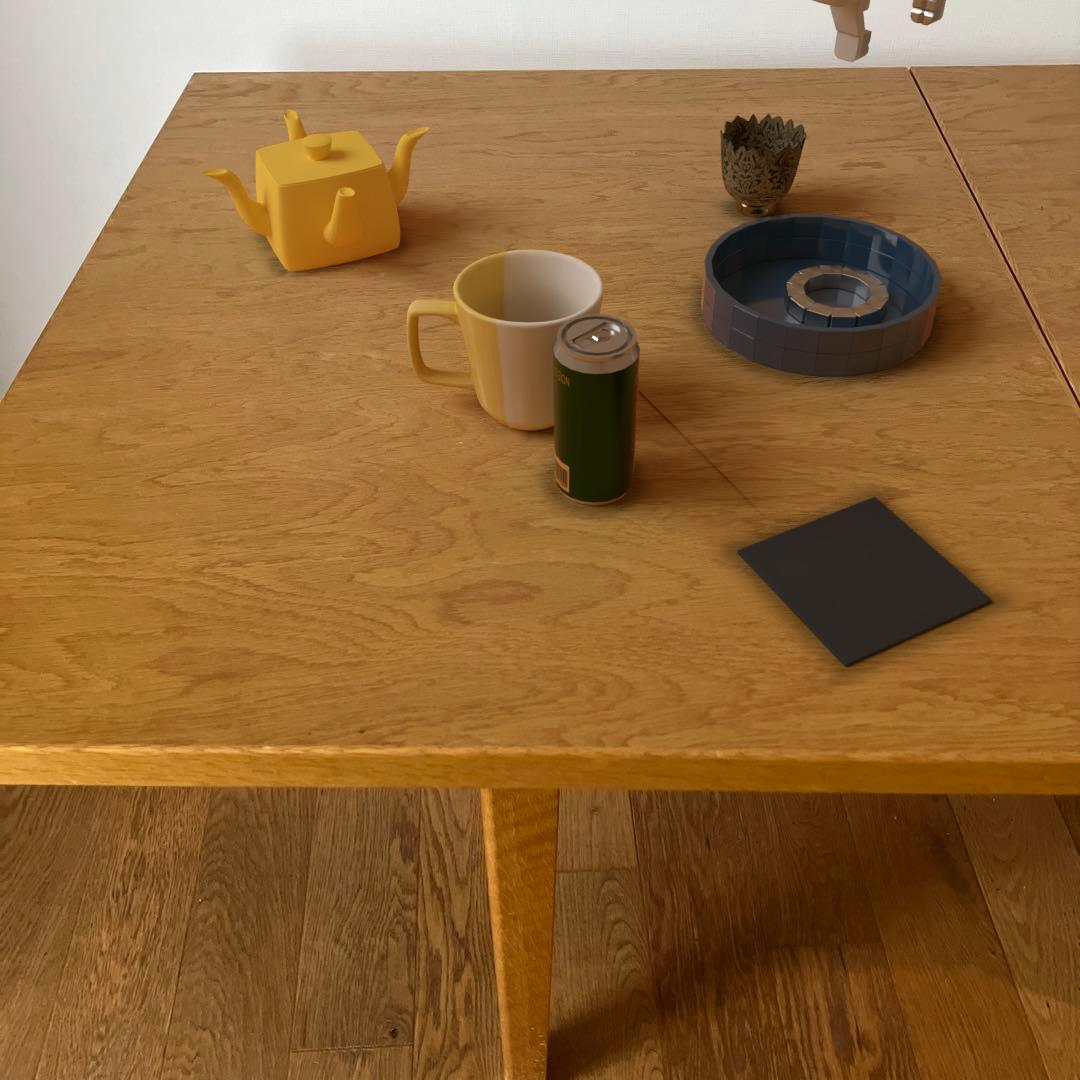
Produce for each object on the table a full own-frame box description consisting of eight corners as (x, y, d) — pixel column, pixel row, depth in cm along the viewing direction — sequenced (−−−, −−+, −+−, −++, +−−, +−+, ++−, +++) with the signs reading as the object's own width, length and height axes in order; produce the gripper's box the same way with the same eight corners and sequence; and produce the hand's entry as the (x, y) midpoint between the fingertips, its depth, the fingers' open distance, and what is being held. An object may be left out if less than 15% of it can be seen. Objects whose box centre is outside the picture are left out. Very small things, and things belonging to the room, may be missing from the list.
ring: (843, 271, 101) (846, 256, 100) (906, 315, 96) (909, 300, 95) (765, 294, 98) (767, 279, 98) (825, 342, 93) (827, 326, 92)
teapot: (219, 267, 104) (196, 161, 98) (297, 196, 114) (281, 96, 108) (370, 295, 101) (357, 187, 94) (437, 219, 110) (429, 116, 104)
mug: (614, 380, 91) (618, 256, 84) (582, 462, 84) (583, 334, 77) (444, 355, 94) (433, 234, 87) (398, 432, 86) (383, 306, 79)
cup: (729, 189, 114) (737, 106, 108) (804, 204, 111) (816, 120, 106) (701, 223, 109) (708, 138, 103) (780, 239, 106) (791, 154, 101)
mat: (873, 503, 80) (874, 496, 79) (990, 607, 73) (992, 600, 72) (736, 556, 76) (737, 549, 76) (844, 671, 69) (846, 664, 69)
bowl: (834, 242, 106) (842, 195, 103) (978, 342, 94) (992, 292, 91) (658, 294, 100) (661, 246, 97) (788, 408, 88) (796, 356, 85)
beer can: (585, 521, 79) (587, 370, 71) (539, 479, 82) (535, 330, 74) (649, 491, 81) (658, 340, 73) (601, 451, 84) (605, 303, 76)
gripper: (880, -149, 67) (840, 94, 77) (1056, -207, 78) (1002, 13, 87) (788, -167, 71) (761, 68, 80) (969, -220, 81) (926, -7, 91)
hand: (888, 39), depth 84 cm, fingers open, 8 cm apart
